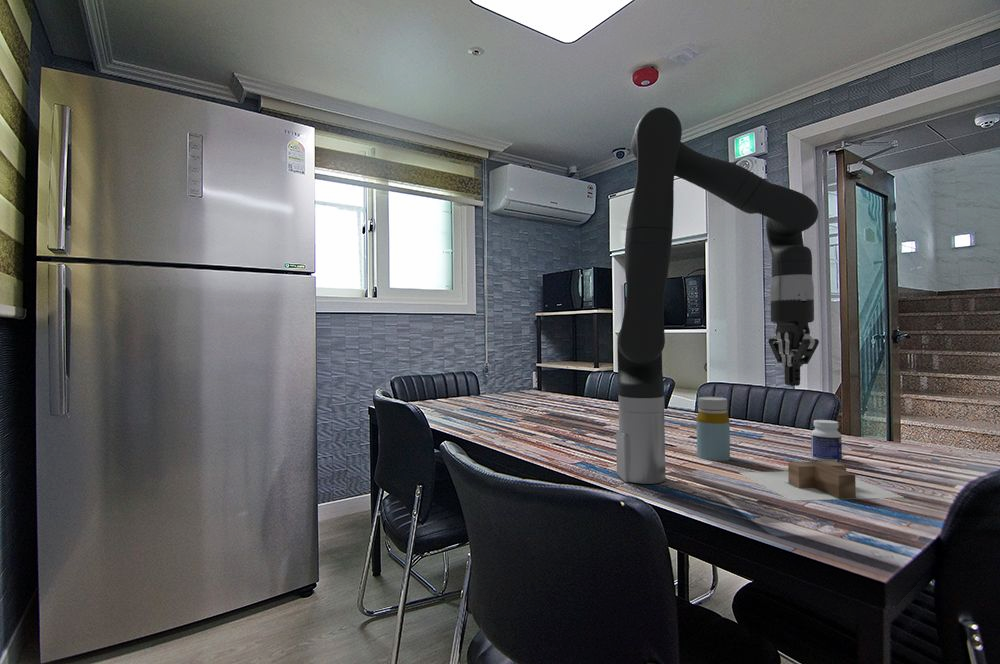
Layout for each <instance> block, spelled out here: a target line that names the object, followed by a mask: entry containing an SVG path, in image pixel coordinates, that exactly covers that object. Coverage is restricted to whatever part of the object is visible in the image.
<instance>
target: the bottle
mask: <svg viewBox="0 0 1000 664" xmlns="http://www.w3.org/2000/svg"><path fill="white" fill-rule="evenodd" d="M697 407H698V409H697V410H698V411H697V412H698V413H697V415H696V456H697V458H698V459H702V460H704V461H705V460H706V461H715V462H725V461H729V460H731V442H730V441H731V440H730V439H731V437H730V436H731V434H730V433H731V431H730V416H729V415H728V399H727V398H726V397H721V396H701V397H698V398H697Z"/></svg>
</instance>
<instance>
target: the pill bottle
mask: <svg viewBox="0 0 1000 664" xmlns="http://www.w3.org/2000/svg"><path fill="white" fill-rule="evenodd" d="M839 423H840V422H839V421H837V420H836V421H835V420H830V419H828V420H827V419H815V420H813V427H814V429H813V430H812V431H811V433H810V434H811V435H810V436H811V441H810V443H811V445H810V446H811V450H810V451H811V459H813V460H815V461H818V462H819V461H835V462H838V463H841V462H842V461H843V447H842V443H843V441H842V439H843V438H842V434H841V432H839V430H838V429H839V427H840V426H839V425H840V424H839Z"/></svg>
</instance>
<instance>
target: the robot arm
mask: <svg viewBox="0 0 1000 664" xmlns="http://www.w3.org/2000/svg"><path fill="white" fill-rule="evenodd" d="M682 134H683V129H682V122H681V121H680V118H679V116H678V115H677V114H676V113H675V111H673V110H672V109H670V108H667V107H662V106H661V107H655V108H653V109H650V110H648V111H647V112H646V113H645V114H643V116H642V117H640V119H639V121H638V122H637V124H636V126H635V129H634V132H633V135H632V138H631V144H630V147H631V152H632V154H633V156H634V158H635V159H636V180H635V184H634V189H633V193H632V198H631V201H630V206H629V211H628V216H627V222H626V229H625V241H624V272H625V284H626V297H625V305H624V311H623V316H622V322H621V327H620V329H619V331H618V334H617V340H616V341H617V343H616V344H617V345H616V346H617V347H616V348H617V349H616V350H617V351H616V352H617V388H618V391H617V392H618V429H616V431H615V438H616V439H615V440H616V441H615V442H616V446H615V447H616V449H615V451H616V456H615V457H616V475H617V476H618V477H619V478H620V479H621V480H622V481H623V482H624V483H635V484H643V485H646V484H649V485H652V484H653V485H654V484H659V483H663V482H664V481H666V473H667V471H666V432H665V431H666V425H665V423H666V421H665V419H666V418H665V415H666V414H665V384H664V375H663V350H664V348H665V344H666V338H665V335H666V333H665V316H664V315H665V313H664V312H665V311H664V309H665V305H664V304H665V303H664V302H665V301H664V300H665V290H666V285H667V280H668V276H669V269H670V268H669V267H670V261H671V254H672V244H673V233H674V231H673V230H674V209H675V208H674V200H675V199H674V197H675V196H674V194H675V193H674V189H675V188H674V184H675V183H674V181H675V177H678V178H679V179H682V180H685V181H686V182H688V183H691V184H693V185H695V186H696V187H698V188H701V189H703V190H705V191H707V192H709V193H710V194H712V195H714V196H716V197H718V199H721V200H723V201H724V202H726V203H728V204H729V205H731V206H733V207H735V208H736V209H738V210H740V211H741V212H744V213H746V214H750V215H751V214H752V215H753V214H759V215H762V216H763V217H766V221H765V222H766V223H765V232H766V233H765V234H766V238H767V242H768V247H769V251H770V254H771V283H770V288H769V289H770V291H769V292H770V293H769V294H770V299H769V301H770V322H771V323H774V324H776V329H775V331H774V332H775V336H774V337H773V338H771V337H770V338H768V341H767V342H768V344H769V347H770V348H771V351H772V353H773V355H774V357H775V360H776V362H777V363H778V364H779V363H781V364H782V365H781V366H783V368H784V384H785V386H790V387H791V386H792V387H793V386H797V387H798V386H800V384H801V367H803V365H809V363H810V360H811V359H812V357H813V355H814V353H815V351H816V350H817V347H818V346H819V344H820V340H819V339H818V338H813V337H812V336H811V335H810V334H811V329H810V327H809V323H812V322H814V321H815V290H814V289H815V287H814V286H815V285H814V279H813V255H812V251H811V250H812V249H810V248H809V247H807V246H805V245H804V239H803V232H805V231H806V230H809V229H810V228H812V226H813V225H814V224H815V223H816V222H817V220H818V218H819V209H818V206H817V204H816V203H815V202H814V200H812V199H811V198H810V197H809V196H807V195H805V194H804V193H802V192H800V191H797V190H795V189H794V190H793V189H792V188H789V187H786V186H783V185H780V184H775V183H772V182H769V181H767V180H766V179H765V178H762V177H761V176H759V175H757V174H756V173H754V172H752V171H751V170H748V169H747V168H745V167H743V166H741V165H739V164H736V163H733V162H730V161H726V160H722V159H719V158H715V157H711V156H708V155H705V154H702V153H700V152H698V151H697V150H694V149H692V148H690V147H689V146H687V145H686V144H685V143H683V142H682Z"/></svg>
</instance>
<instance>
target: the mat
mask: <svg viewBox="0 0 1000 664" xmlns="http://www.w3.org/2000/svg"><path fill="white" fill-rule="evenodd" d="M739 474H741V475H742V476H744V477H746V478H747V479H749V480H751V481H753V482H755V483H757V484H759V485H761V486H762V487H764V488H766V489H769V490H770V491H772V492H774V493H776V494H778V495H780V496H781V497H784V498H785V499H788V500H789V501H790V502H791V501H793V502H795V501H798V502H799V501H825V500H826V501H830V500H833V501H834V500H835V501H837V500H839V499H838V498H836V497H834V496H831V495H829V494H827V493H825V492H823V491H820V490H818V489H816V488H797V487H795V486H793V485H791V484H789V481H788V471H787V470H786V471H784V470H783V471H751V472H749V471H748V472H739ZM855 482H856V498H851V499H850V500H859V499H860V500H863V499H865V500H868V499H871V500H873V499H898V498H899V499H900V498H902V499H903V498H904V499H905V496H903V495H900V494H897V493H894V492H892V491H889V490H886V489H884V488H882V487H880V486H879V487H878V486H877V485H874V484H871V483H869V482H866V481H863V480H860V479H858V478H856V477H855Z"/></svg>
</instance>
